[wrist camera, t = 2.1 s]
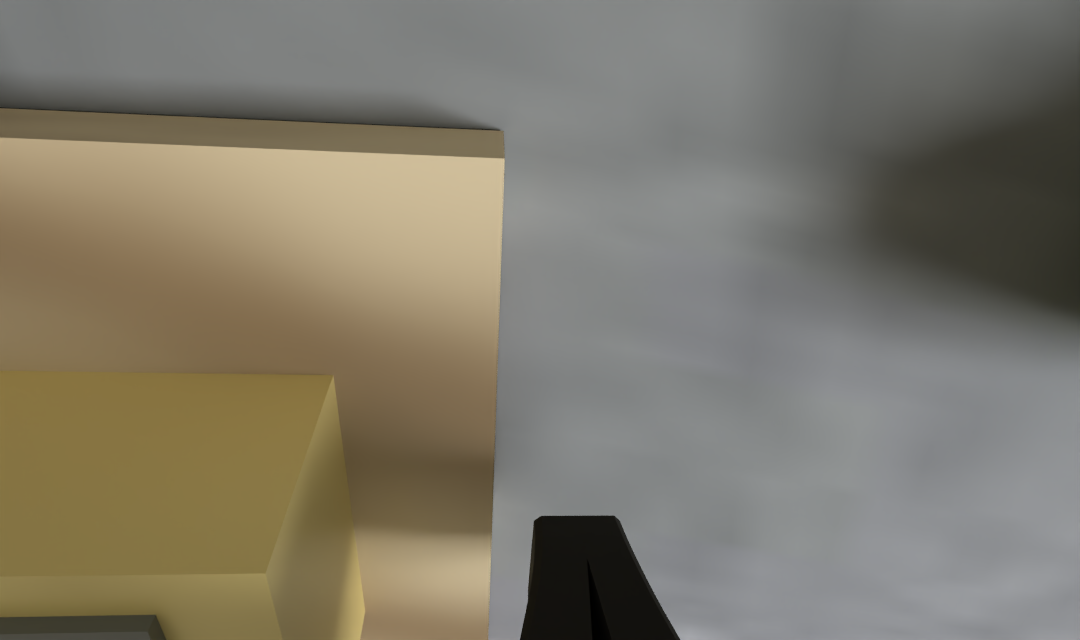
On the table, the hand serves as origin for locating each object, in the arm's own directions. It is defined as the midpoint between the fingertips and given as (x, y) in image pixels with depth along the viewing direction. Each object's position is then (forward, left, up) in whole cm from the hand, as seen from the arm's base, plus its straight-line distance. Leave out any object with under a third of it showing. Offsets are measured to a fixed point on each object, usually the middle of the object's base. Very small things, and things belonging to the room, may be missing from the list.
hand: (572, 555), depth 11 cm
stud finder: (0, +6, -1) cm, 6 cm away
